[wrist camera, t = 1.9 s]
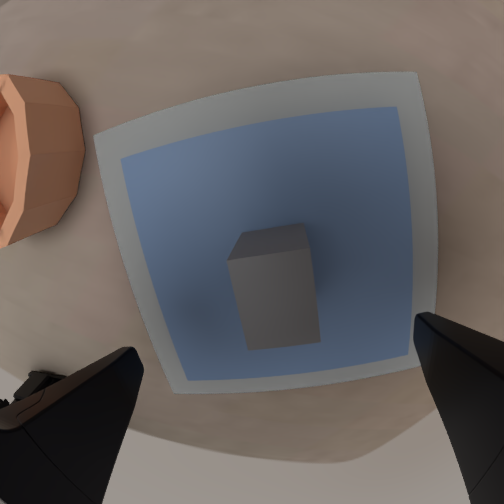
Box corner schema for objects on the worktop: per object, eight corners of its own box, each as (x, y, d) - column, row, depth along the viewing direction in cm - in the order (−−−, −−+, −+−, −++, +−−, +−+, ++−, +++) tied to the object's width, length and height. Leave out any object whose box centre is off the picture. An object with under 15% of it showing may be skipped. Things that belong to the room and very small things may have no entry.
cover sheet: (404, 347, 17) (429, 398, 12) (190, 373, 19) (169, 424, 14) (391, 108, 13) (432, 93, 8) (127, 158, 15) (73, 163, 10)
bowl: (98, 212, 17) (47, 232, 12) (6, 241, 19) (-36, 261, 14) (74, 55, 14) (24, 40, 9) (-14, 118, 16) (-57, 121, 11)
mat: (423, 355, 18) (428, 364, 17) (177, 385, 21) (173, 393, 20) (409, 75, 13) (416, 71, 12) (102, 135, 16) (93, 135, 15)
